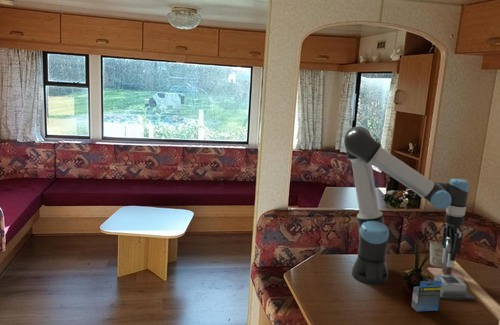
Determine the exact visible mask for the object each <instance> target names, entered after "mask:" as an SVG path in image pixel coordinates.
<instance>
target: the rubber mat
mask: <svg viewBox="0 0 500 325" xmlns="http://www.w3.org/2000/svg"><path fill="white" fill-rule="evenodd" d="M427 271H429V272H430V274H432V276H435V274H439V275H456V276H457V277H458V278H459V279H460V280H462V281H463V282H464V283H467V280H466V278H464V277H463V276H462V275H461V274H460V273H459V272H457V271H456V270H455V269H454V268H452V274H445V273H443V272H442V267H427Z"/></svg>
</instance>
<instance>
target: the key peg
mask: <svg viewBox="0 0 500 325" xmlns="http://www.w3.org/2000/svg"><path fill="white" fill-rule="evenodd" d="M450 243H451V238H450V237H447V236H446V247H445V254H444V260H443V267H441V268H442V272H443V273H445V274H452V269H454V267H447V262H448V255H449V252H450Z"/></svg>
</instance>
